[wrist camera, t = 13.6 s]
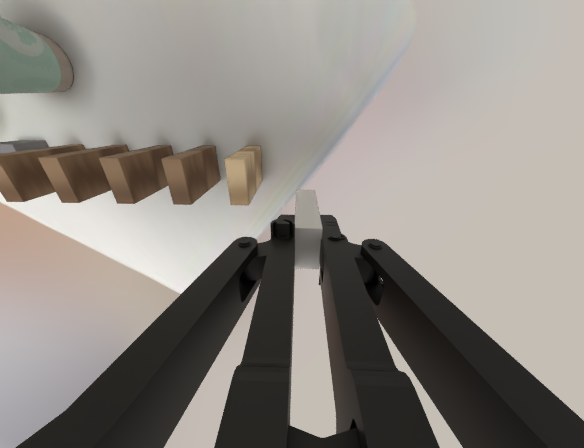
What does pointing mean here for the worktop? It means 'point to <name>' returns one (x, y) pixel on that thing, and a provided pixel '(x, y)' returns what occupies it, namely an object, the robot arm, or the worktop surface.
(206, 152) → the tile
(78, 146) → the tile
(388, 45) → the worktop surface
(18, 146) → the block
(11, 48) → the coffee cup
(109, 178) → the tile
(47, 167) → the tile
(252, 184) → the tile
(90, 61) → the worktop surface
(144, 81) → the worktop surface
